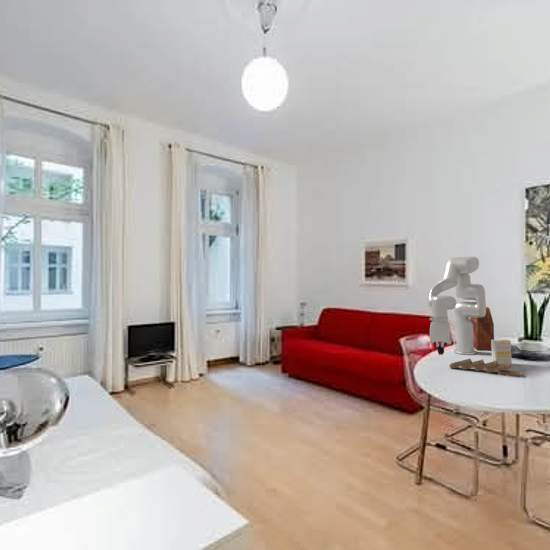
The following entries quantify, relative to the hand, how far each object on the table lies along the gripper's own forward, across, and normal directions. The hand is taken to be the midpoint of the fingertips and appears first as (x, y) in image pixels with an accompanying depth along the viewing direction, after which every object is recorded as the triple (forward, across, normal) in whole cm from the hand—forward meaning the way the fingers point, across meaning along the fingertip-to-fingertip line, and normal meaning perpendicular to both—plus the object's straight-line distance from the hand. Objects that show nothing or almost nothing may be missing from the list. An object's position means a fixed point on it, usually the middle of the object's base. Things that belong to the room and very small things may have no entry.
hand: (440, 354), depth 207 cm
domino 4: (+6, +22, 0) cm, 23 cm away
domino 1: (+6, +5, 0) cm, 8 cm away
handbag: (+7, +11, +66) cm, 67 cm away
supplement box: (+7, +26, +21) cm, 34 cm away
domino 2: (+6, +11, 0) cm, 12 cm away
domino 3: (+6, +17, 0) cm, 18 cm away
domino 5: (+6, +27, 0) cm, 28 cm away
